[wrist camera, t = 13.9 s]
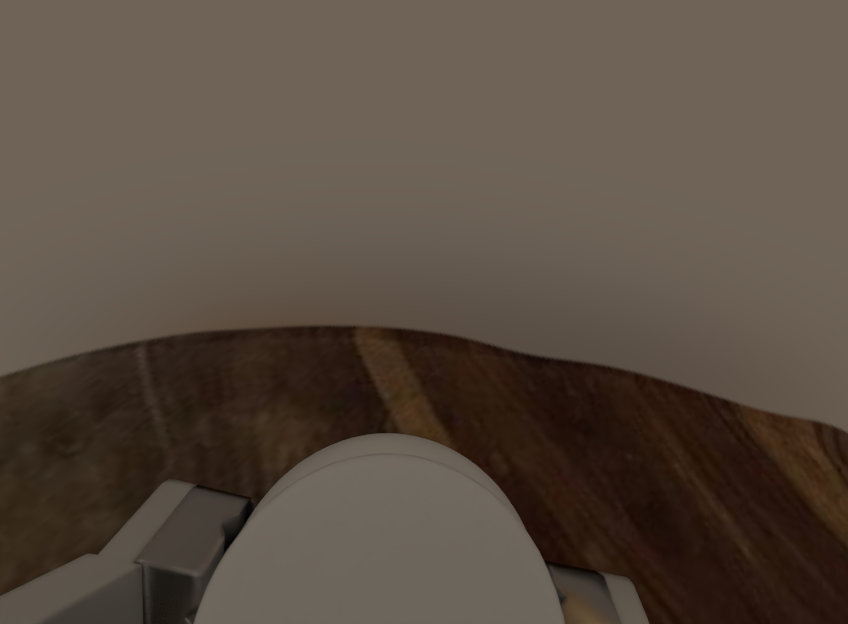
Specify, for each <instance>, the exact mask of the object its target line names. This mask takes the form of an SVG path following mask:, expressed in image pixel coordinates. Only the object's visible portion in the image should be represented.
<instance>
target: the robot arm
mask: <svg viewBox="0 0 848 624" xmlns="http://www.w3.org/2000/svg"><path fill="white" fill-rule="evenodd" d="M253 511H254V499H252V498H250V497H246V496H242V495H238V494H234V493H230V492H226V491H222V490H218V489H214V488H210V487H205V486H201V485H195V484H191V483H187V482H183V481H179V480H174V479H169V480H167V481H165V482H164V483H162V484H161V485H160V486H159V487H158V488H157V489H156V490H155V491H154V492H153V494H152V495H151V496H150V497H149V498H148V499H147V500H146V501H145V502H144V504H143V505H142V506H141V507H140V508H139V509H138V510H137V511H136V512H135V514H134V515H133V516H132V517H131V518H130V519H129V520H128V521H127V522H126V524H125V525H124V526H123V527H122V528H121V529H120V530H119V531H118V532H117V534H116V535H115V536H114V537H113V538H112V539H111V540H110V541H109V543H108V544H107V545H106V546H105V547H104V548H103V549H102V550H101V551H100V553H99V554H98V555H95V554H89V553H87V554H85V555H83V556H81V557H79V558H77V559H75V560H73V561H71V562H69V563H67V564H65V565H63V566H61V567H59V568H57V569H55V570H53V571H51V572H49V573H46V574H44V575H42V576H40V577H38V578H36V579H34V580H32V581H30V582H28V583H26V584H24V585H22V586H20V587H18V588H16V589H14V590H12V591H10V592H8V593H5V594H3V595H1V596H0V624H193V623H194V620H195V617H196V614H197V611H198V608H199V605H200V603H201V600H202V598H203V595H204V593H205V590H206V588H207V585H208V583H209V581H210V579H211V578H212V576H213V574H214V572H215V570H216V568H217V566H218V564H219V563H220V561H221V559H222V558H223V556H224V554H225V552H226V551H227V550H228V548H229V547H230V545H231V544H232V543H233V541H234V540H235V539H236V537H237V536H238V535H239V533H240V532H241V530H242V528H243V527H244V525H245V523H246V521H247V520H248V518H249V517H250V515H251V514H252V513H253ZM544 563H545V565H546V567H547V569H548V571H549V574H550V576H551V579H552V581H553V584H554V586H555V589H556V592H557V595H558V598H559V602H560V605H561V609H562V613H563V616H564V622H565V624H649V621H648V619H647V617H646V614H645V612H644V609H643V607H642V604H641V602H640V600H639V597H638V595H637V592H636V590H635V587H634V585H633V583H632V582H631V581H630V580H629V579H628V578H627V577H623V576H618V575H613V574H608V573H603V572H597V571H594V570H589V569H584V568H580V567H575V566H570V565H565V564H560V563H555V562H550V561H545V560H544Z"/></svg>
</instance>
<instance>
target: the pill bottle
mask: <svg viewBox="0 0 848 624" xmlns="http://www.w3.org/2000/svg"><path fill="white" fill-rule="evenodd" d="M193 624H565V622H564V616H563V613H562V609H561V605H560V602H559V598H558V595H557V592H556V589H555V586H554V584H553V581H552V579H551V576H550V574H549V571H548V569H547V567H546V565H545V563H544V560H543V558H542V556H541V554H540V552H539V550H538V549H537V547H536V545H535V544H534V542H533V540H532V539H531V537H530V536H529V534H528V533H527V531H526V529H525V527H524V525H523V523H522V521H521V519H520V517H519V515H518V514H517V512H516V510H515V509H514V507H513V506H512V504H511V503H510V501H509V500H508V498H507V497H506V495H505V494H504V493H503V492H502V490H501V489H500V488H499V487H498V485H497V484H496V483H495V482H494V481H493V480H492V479H491V478H490V477H489V476H488V475H487V474H486V473H484V472H483V471H482V470H481V469H480V468H479V467H478V466H477V465H475V464H474V463H473V462H471V461H470V460H468V459H467V458H466V457H464V456H462V455H461V454H459V453H457V452H455V451H454V450H452V449H450V448H448V447H446V446H444V445H441V444H439V443H437V442H434V441H431V440H428V439H425V438H421V437H417V436H411V435H404V434H397V433H390V434H389V433H379V434H369V435H363V436H358V437H354V438H350V439H347V440H344V441H341V442H338V443H335V444H333V445H330V446H328V447H326V448H324V449H322V450H320V451H318V452H316V453H314V454H313V455H311V456H310V457H308V458H306V459H305V460H303V461H301V462H300V463H299V464H298V465H296V466H295V467H294V468H292V469H291V470H290V471H289V472H288V473H287V474H285V475H284V476H283V477H282V478H281V479H280V480H279V481H278V482H277V483H276V484H275V485H274V486H273V487H272V488H271V489H270V490H269V492H268V493H267V494H266V495H265V496H264V498H263V499H262V500H261V501H260V503H259V504H258V505H257V507H256V508H255V510H254V511H253V513H252V514H251V515H250V517H249V518H248V520H247V521H246V523H245V525H244V527H243V528H242V530H241V532H240V533H239V535H238V536H237V537H236V539H235V540H234V541H233V543H232V544H231V545H230V547H229V548H228V550H227V551H226V552H225V554H224V556H223V558H222V559H221V561H220V563H219V564H218V566H217V568H216V570H215V572H214V574H213V576H212V578H211V579H210V581H209V583H208V585H207V588H206V590H205V593H204V595H203V598H202V600H201V603H200V605H199V608H198V611H197V614H196V617H195V620H194V623H193Z"/></svg>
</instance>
